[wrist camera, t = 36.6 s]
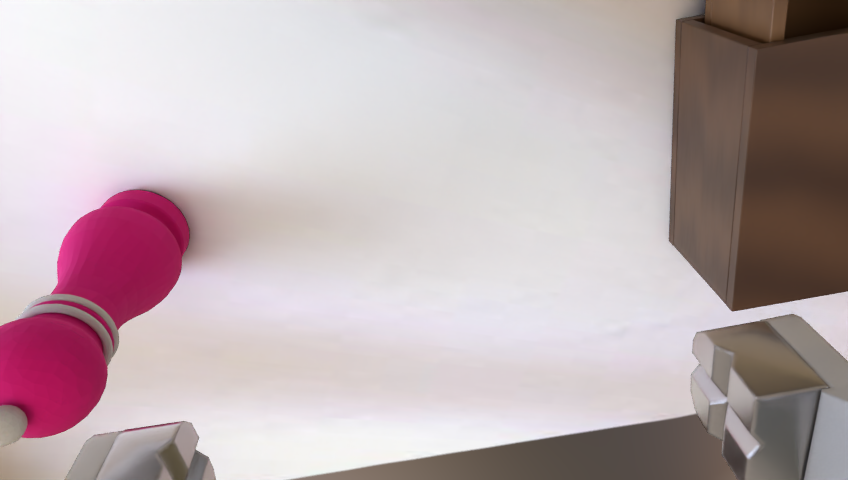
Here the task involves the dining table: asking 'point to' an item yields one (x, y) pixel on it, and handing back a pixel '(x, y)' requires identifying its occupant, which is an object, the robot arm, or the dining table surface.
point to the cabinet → (761, 163)
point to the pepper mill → (87, 312)
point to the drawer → (776, 17)
